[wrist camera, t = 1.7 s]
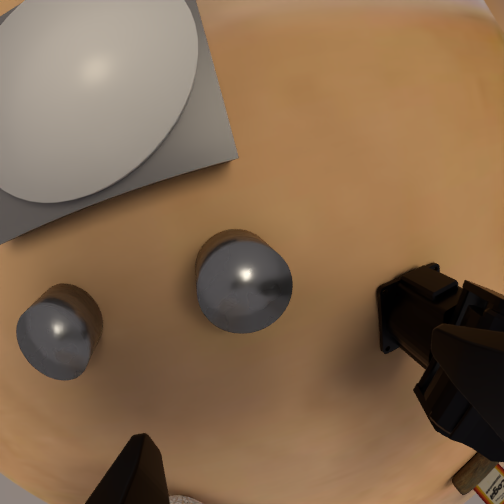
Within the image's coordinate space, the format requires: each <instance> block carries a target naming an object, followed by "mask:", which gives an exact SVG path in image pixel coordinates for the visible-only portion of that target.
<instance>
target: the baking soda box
mask: <svg viewBox="0 0 504 504" xmlns="http://www.w3.org/2000/svg"><path fill="white" fill-rule="evenodd" d="M473 490H474V491H475V492H476V493H477V494H478V495H479V497H480V498H481V499H482V500H483V501H484V502H485V503H486V504H504V469H503V468H502V467H501V466H500V465H499V464H497V465H496V466H495V468H494V469H493V470H492V471H491V472H490V473H489V474H488V475H487V476H486V477H485V478H484V479H483V480H482V481H481V482H480V483H479V484H478V485H477V486H476V487H475V488H474V489H473Z"/></svg>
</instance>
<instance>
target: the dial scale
mask: <svg viewBox="0 0 504 504" xmlns="http://www.w3.org/2000/svg"><path fill="white" fill-rule="evenodd" d="M238 158H239V157H238V153H237V150H236V146H235V142H234V138H233V135H232V131H231V127H230V123H229V120H228V116H227V112H226V109H225V105H224V101H223V97H222V94H221V90H220V86H219V83H218V79H217V75H216V72H215V68H214V64H213V61H212V57H211V53H210V50H209V46H208V43H207V39H206V35H205V32H204V28H203V25H202V21H201V17H200V14H199V10H198V7H197V3H196V0H25V1H24V2H23V3H21V4H20V5H18V6H16V7H15V8H13V9H11V10H10V11H8V12H7V13H5V14H3V15H2V16H0V245H1V244H3V243H5V242H7V241H9V240H11V239H14V238H16V237H18V236H20V235H23V234H25V233H27V232H29V231H31V230H34V229H36V228H38V227H40V226H43V225H45V224H47V223H50V222H52V221H54V220H57V219H59V218H61V217H64V216H66V215H69V214H71V213H74V212H76V211H79V210H81V209H84V208H86V207H89V206H91V205H94V204H97V203H99V202H102V201H105V200H107V199H110V198H113V197H116V196H118V195H121V194H124V193H127V192H130V191H133V190H136V189H139V188H141V187H144V186H147V185H150V184H154V183H157V182H160V181H163V180H166V179H169V178H172V177H176V176H179V175H182V174H185V173H189V172H192V171H196V170H199V169H203V168H206V167H210V166H213V165H217V164H221V163H224V162H228V161H232V160H235V159H238Z"/></svg>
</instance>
